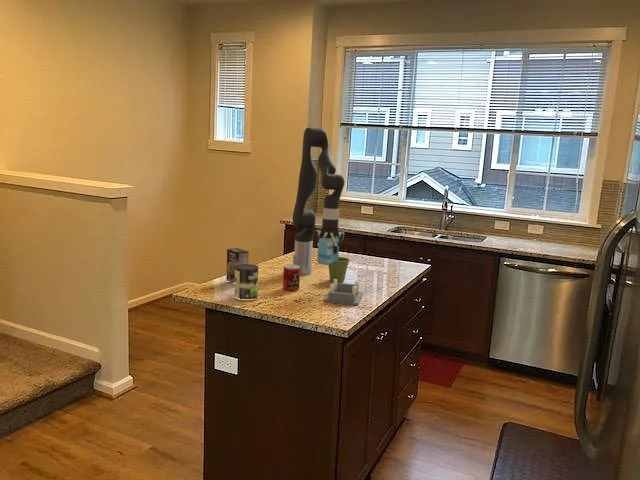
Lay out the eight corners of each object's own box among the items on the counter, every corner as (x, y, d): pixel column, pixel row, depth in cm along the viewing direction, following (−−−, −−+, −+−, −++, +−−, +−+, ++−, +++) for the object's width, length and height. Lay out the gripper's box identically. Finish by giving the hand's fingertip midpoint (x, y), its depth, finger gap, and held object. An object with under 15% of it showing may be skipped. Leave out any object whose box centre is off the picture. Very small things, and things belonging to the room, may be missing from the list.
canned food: (287, 291, 255) (287, 268, 253) (280, 287, 262) (281, 264, 260) (302, 290, 258) (303, 267, 256) (294, 286, 265) (295, 263, 263)
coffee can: (262, 297, 244) (263, 266, 241) (247, 302, 235) (248, 270, 233) (244, 293, 249) (245, 262, 247) (229, 298, 241) (229, 266, 238)
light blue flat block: (325, 265, 254) (326, 240, 252) (317, 264, 257) (318, 238, 254) (338, 261, 264) (339, 236, 262) (330, 259, 267) (331, 235, 264)
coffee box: (225, 281, 266) (226, 249, 264) (236, 279, 271) (237, 247, 268) (237, 286, 260) (238, 252, 257) (248, 283, 265) (249, 250, 262)
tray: (323, 301, 242) (324, 286, 241) (331, 291, 259) (331, 276, 258) (357, 305, 239) (358, 289, 238) (362, 294, 257) (363, 279, 255)
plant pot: (353, 281, 279) (355, 259, 277) (338, 285, 270) (339, 262, 268) (336, 276, 287) (337, 255, 285) (320, 280, 278) (321, 258, 276)
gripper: (313, 217, 254) (311, 253, 257) (344, 220, 251) (342, 256, 255) (317, 215, 261) (315, 250, 264) (347, 217, 258) (344, 253, 262)
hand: (328, 252), depth 260 cm, fingers closed on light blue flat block, 5 cm apart
